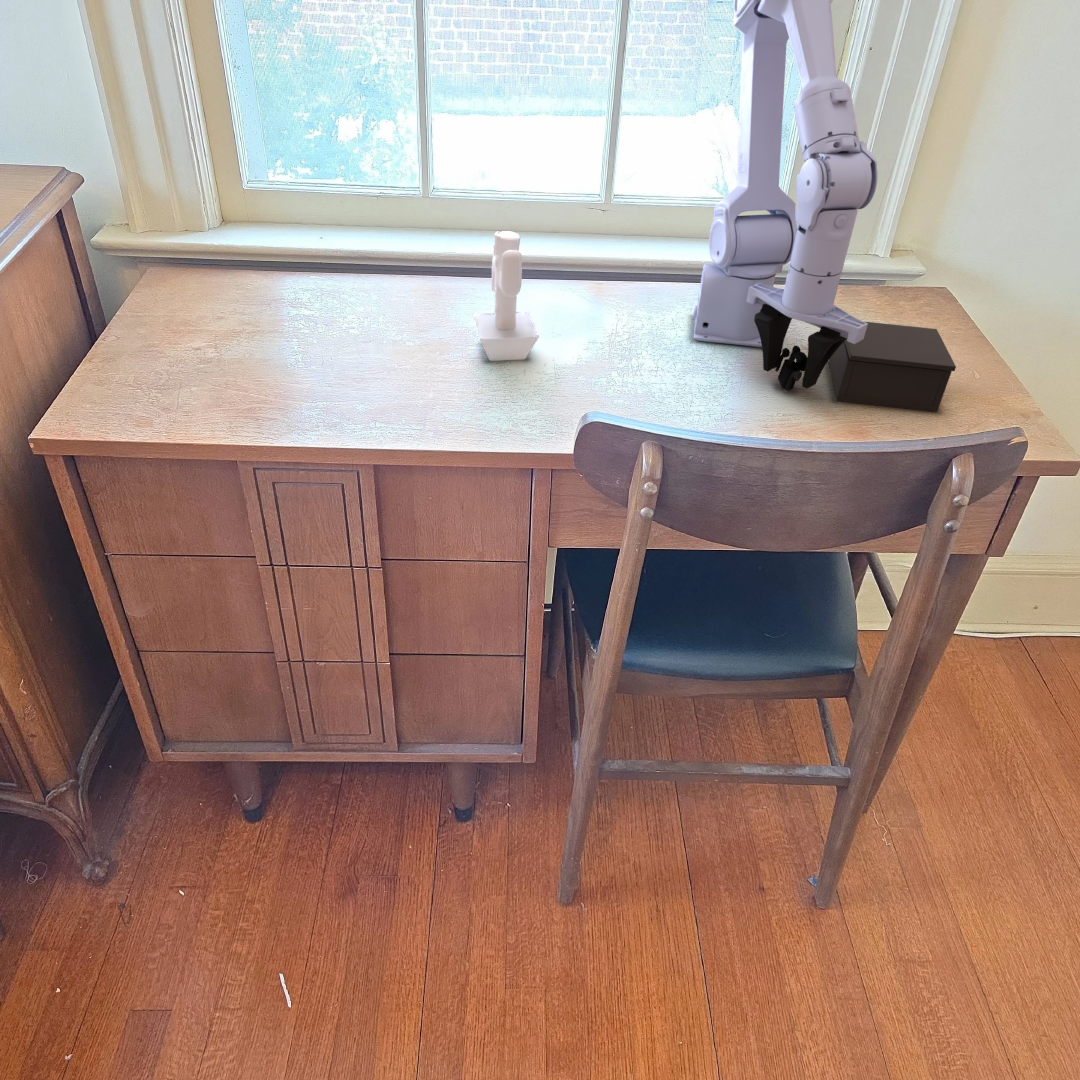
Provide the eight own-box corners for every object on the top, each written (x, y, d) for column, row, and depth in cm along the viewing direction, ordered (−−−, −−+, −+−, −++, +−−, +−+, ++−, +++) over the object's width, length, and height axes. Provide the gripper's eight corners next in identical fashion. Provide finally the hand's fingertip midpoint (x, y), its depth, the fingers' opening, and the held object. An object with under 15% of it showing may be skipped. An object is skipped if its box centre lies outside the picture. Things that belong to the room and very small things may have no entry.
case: (937, 412, 105) (951, 371, 102) (836, 401, 106) (848, 360, 103) (922, 372, 113) (935, 333, 110) (828, 362, 114) (838, 323, 111)
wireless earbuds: (770, 371, 111) (784, 334, 108) (789, 374, 111) (804, 337, 108) (785, 400, 105) (800, 362, 102) (805, 403, 106) (820, 365, 103)
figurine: (526, 334, 117) (530, 219, 107) (539, 368, 109) (545, 247, 100) (471, 337, 115) (470, 220, 106) (480, 371, 108) (481, 249, 99)
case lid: (954, 371, 101) (956, 366, 101) (849, 360, 102) (851, 355, 102) (935, 333, 110) (936, 328, 109) (838, 323, 111) (840, 318, 110)
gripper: (893, 278, 97) (860, 389, 106) (780, 240, 105) (758, 346, 114) (860, 294, 93) (828, 408, 102) (745, 253, 101) (725, 362, 110)
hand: (789, 376), depth 107 cm, fingers closed on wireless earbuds, 5 cm apart
